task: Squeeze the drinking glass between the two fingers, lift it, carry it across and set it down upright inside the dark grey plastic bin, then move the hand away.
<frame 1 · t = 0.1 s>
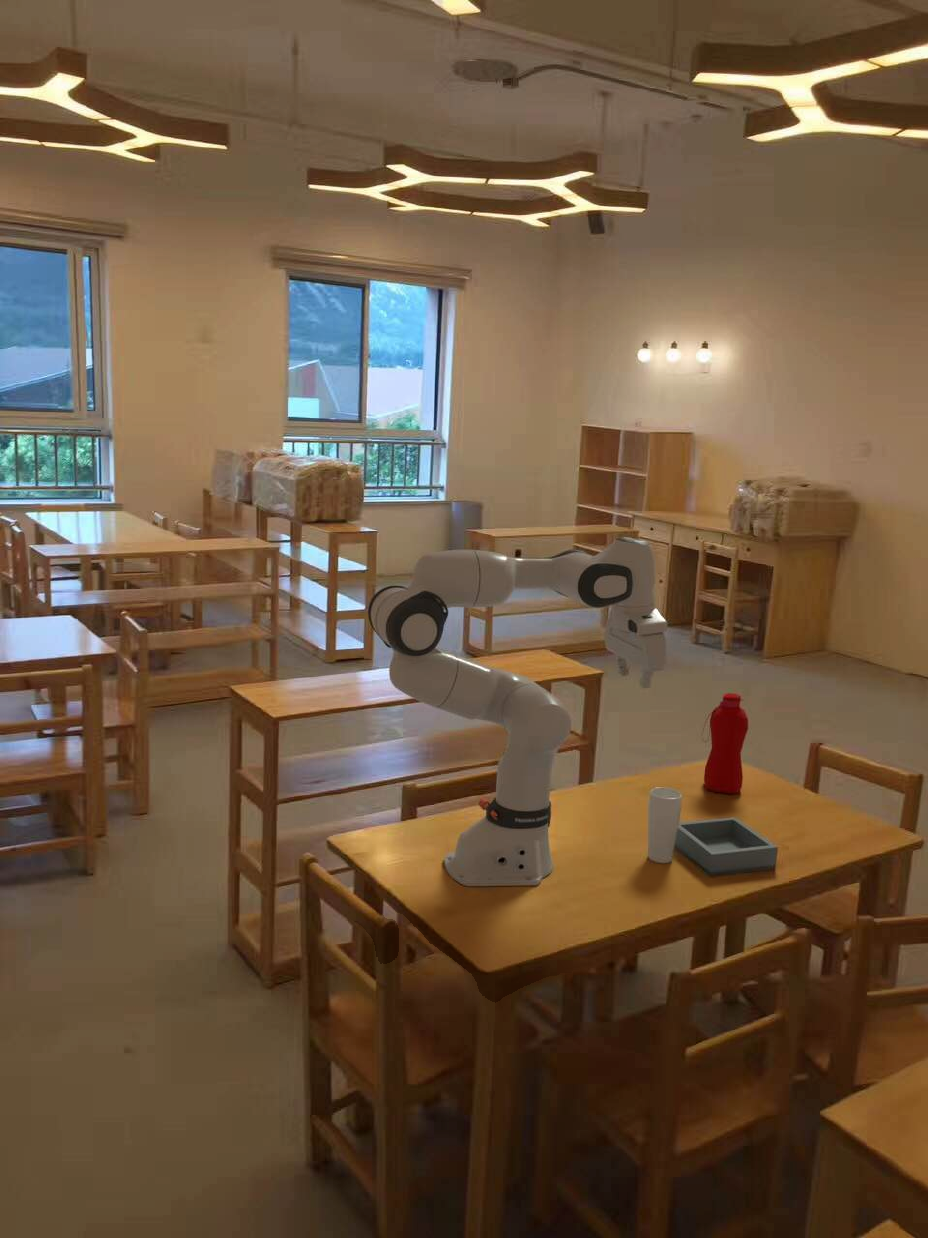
hand: (634, 681, 208), 39 cm above the table, tool pointing down, fingers open, 8 cm apart
bin: (721, 856, 218), on the table
drinking glass: (659, 859, 215), on the table
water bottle: (718, 788, 258), on the table
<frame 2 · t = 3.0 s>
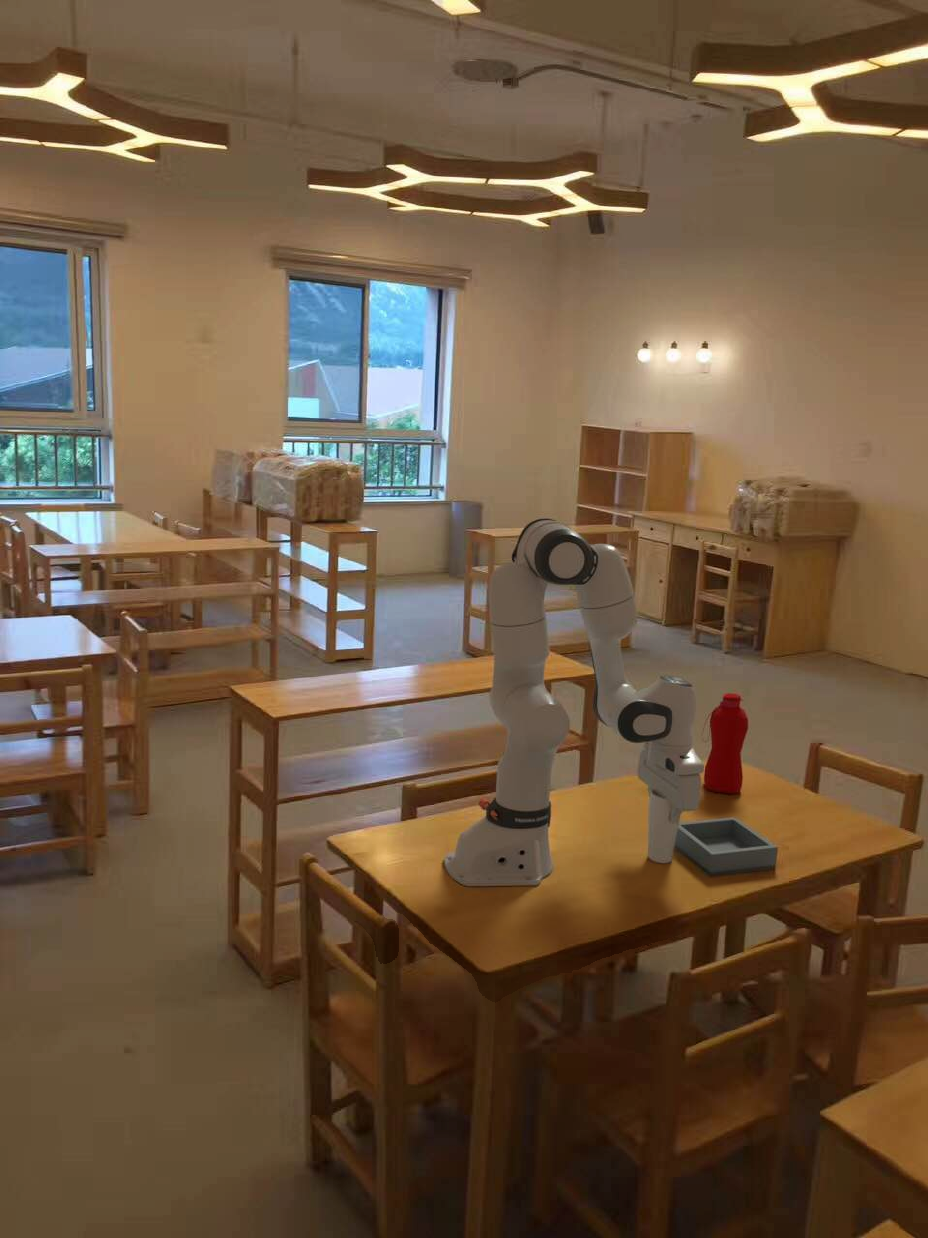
hand: (664, 814, 213), 10 cm above the table, tool pointing down, fingers closed on drinking glass, 7 cm apart
drinking glass: (659, 859, 215), on the table, touching gripper
everything else where it was.
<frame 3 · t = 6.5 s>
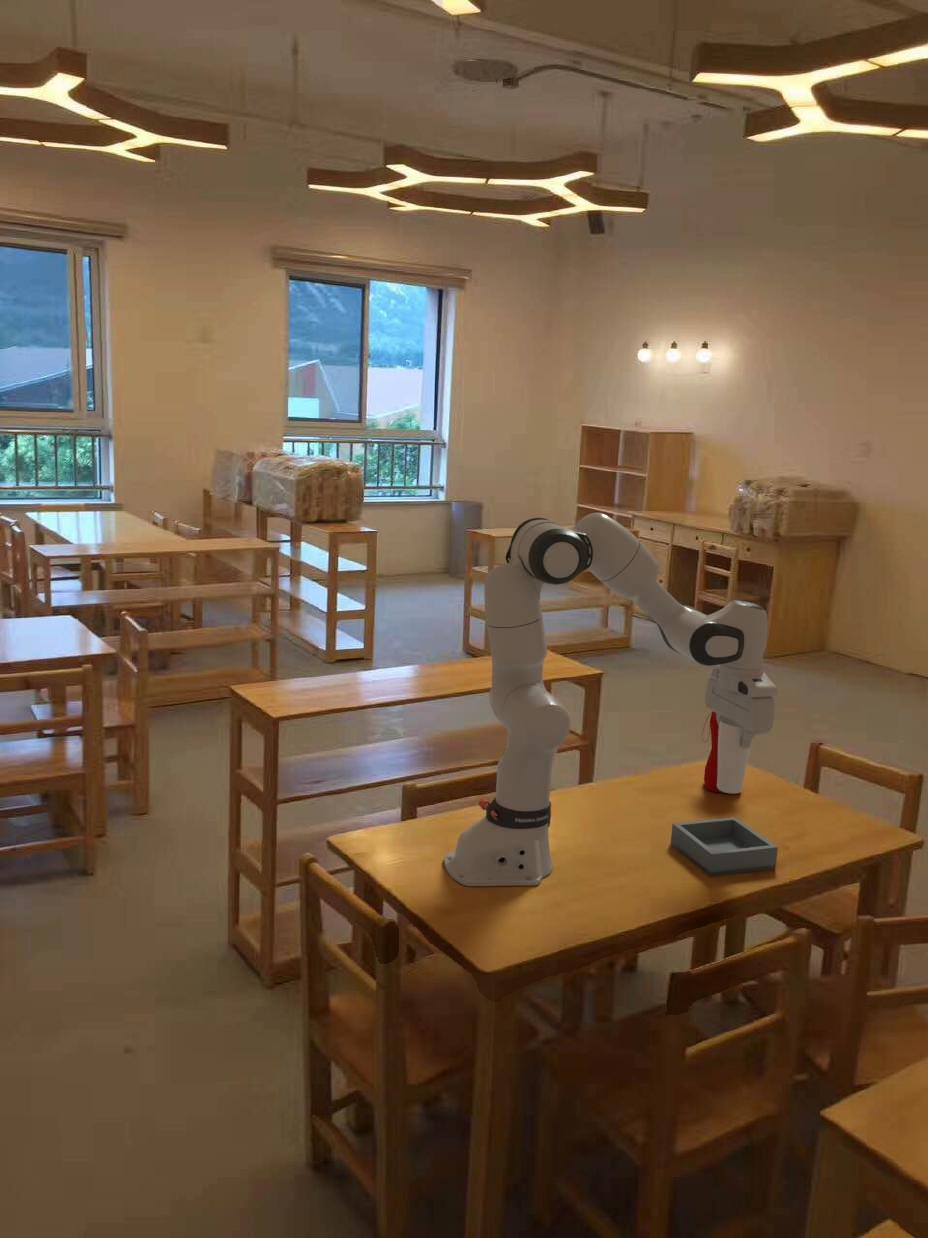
hand: (733, 741, 212), 26 cm above the table, tool pointing down, fingers closed on drinking glass, 6 cm apart
drinking glass: (729, 791, 214), point 15 cm above the table, touching gripper
everything else where it was.
when the fingers open (13 cm above the table, at t = 9.9 s): drinking glass moves 4 cm, resting on bin.
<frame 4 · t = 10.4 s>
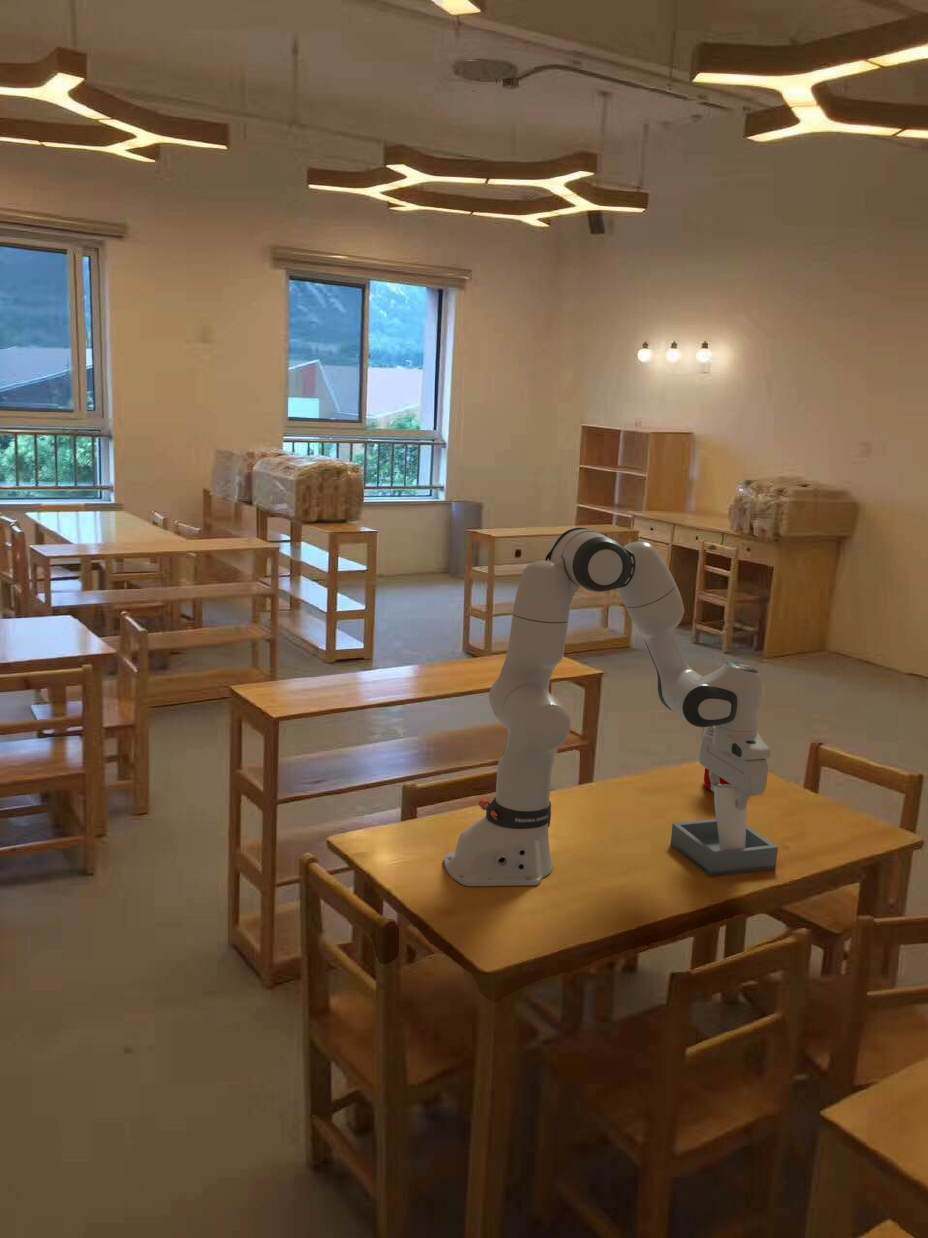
hand: (727, 799, 215), 13 cm above the table, tool pointing down, fingers open, 8 cm apart
drinking glass: (732, 858, 214), point 2 cm above the table, touching bin, gripper
everything else where it was.
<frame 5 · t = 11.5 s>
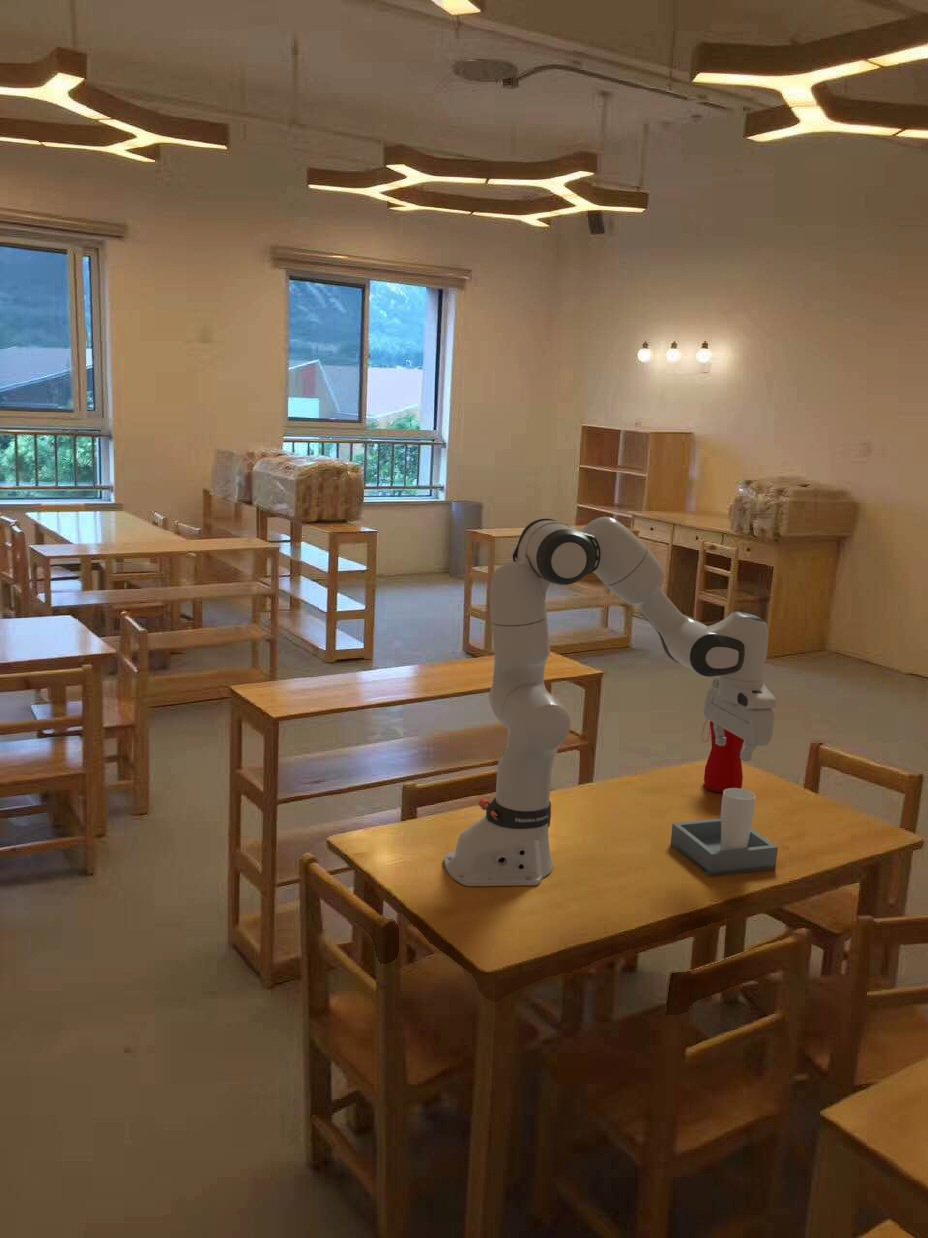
hand: (732, 752, 213), 24 cm above the table, tool pointing down, fingers open, 8 cm apart
drinking glass: (732, 861, 214), point 1 cm above the table, touching bin
everything else where it was.
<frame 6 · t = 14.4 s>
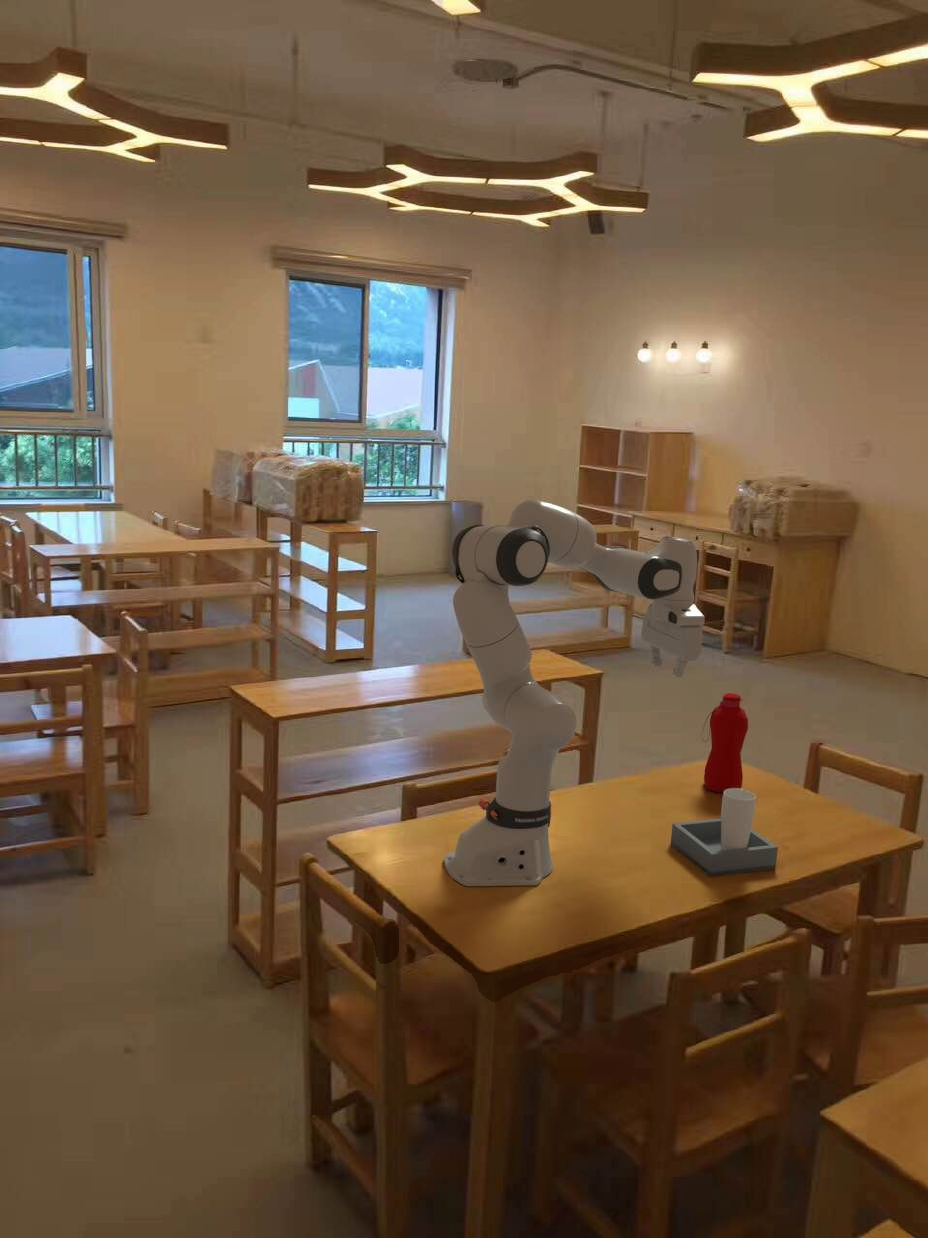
hand: (666, 670, 225), 37 cm above the table, tool pointing down, fingers open, 8 cm apart
nothing on the table moved.
at the end: drinking glass inside the target area on the bin (4.0 cm from its centre), point 0.8 cm above the bin's base; drinking glass tilted 0°; the gripper is holding nothing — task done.
